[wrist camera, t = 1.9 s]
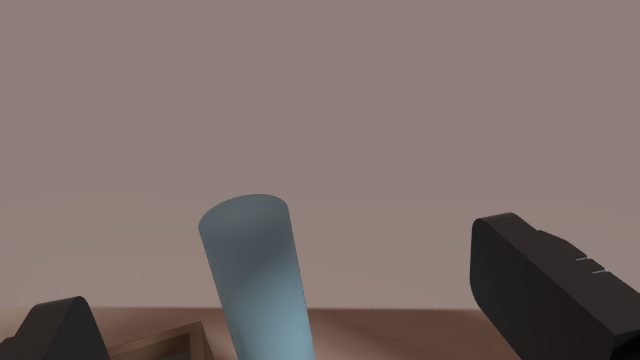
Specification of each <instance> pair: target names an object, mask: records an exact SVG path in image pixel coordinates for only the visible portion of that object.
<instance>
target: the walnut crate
mask: <svg viewBox="0 0 640 360" xmlns="http://www.w3.org/2000/svg"><path fill="white" fill-rule="evenodd" d="M189 349H191V360H214V357H213V354H212V351H211V349H210V346H209V343H208V340H207V337H206V334H205V331H204V328H203V325H202V322H201V321H199V322H195V323H192V324H189V325H186V326H182V327H179V328H176V329H172V330H169V331H166V332H162V333H159V334H156V335H152V336H149V337H146V338H142V339H139V340H136V341H132V342H129V343H126V344H122V345H119V346H116V347H112V348H109V349H107V351H108V354H109V357H110V360H157V359H161V358H164V357H167V356H170V355H173V354H177V353H180V352H183V351H186V350H189Z"/></svg>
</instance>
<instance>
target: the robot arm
mask: <svg viewBox="0 0 640 360" xmlns="http://www.w3.org/2000/svg"><path fill="white" fill-rule="evenodd" d="M470 285H471V290H472V293H473V296H474V298H475V300H476V302H477V304H478V306H479V307H480V308H481V310H482V311H483V312H484V313H485V315H486V316H487V317H488V318H489V320H490V321H491V322H492V323H493V325H494V326H495V327H496V328H497V329H498V331H499V332H500V333H501V334H502V336H503V337H504V338H505V339H506V341H507V342H508V343H509V344H510V346H511V347H512V348H513V349H514V351H515V352H516V353H517V354H518V356H519V357H520V358H521V359H522V360H640V293H638V292H637V291H635V290H634V289H633V288H631V287H630V286H628V285H627V284H626V283H624V282H623V281H622V280H620V279H619V278H617V277H616V276H615V275H613V274H612V273H611V272H606V271H605V269H604V268H603V267H602V266H601V265H599V264H598V263H597V262H595V261H594V260H593V259H588V258H587V255H585V254H584V253H583V252H582V251H580V250H579V249H577V248H576V247H575V246H573V245H572V244H570V243H569V242H568V241H566V240H564V239H561V238H559V237H556V236H554V235H551V234H549V233H547V232H544V231H541V230H538V231H537V230H536V229H534V228H533V227H532V226H530V225H529V224H528V223H527V222H525V221H524V220H523V219H521V218H520V217H519V216H517V215H516V214H514V213H510V212H509V213H504V214H499V215H495V216H489V217H484V218H479V219H476V220H475V221H474V223H473V226H472V240H471V260H470ZM0 360H110V357H109V354H108V351H107V349H106V346H105V344H104V342H103V339H102V337H101V334H100V332H99V329H98V327H97V324H96V322H95V319H94V317H93V315H92V312H91V310H90V307H89V305H88V303H87V301H86V300H85V299H84V298H83V297H81V296H77V297H72V298H67V299H63V300H57V301H51V302H46V303H41V304H37V305H35V306H34V307H33V308H32V309H31V310H30V312H29V314H28V315H27V317H26V318H25V320H24V321H23V323H22V325H21V326H20V328H19V329H18V331H17V333H16V334H15V336H14V337H10V338H6V339H5V340H4V341H3V342H1V343H0Z"/></svg>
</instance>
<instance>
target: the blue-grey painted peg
mask: <svg viewBox="0 0 640 360" xmlns="http://www.w3.org/2000/svg"><path fill="white" fill-rule="evenodd" d="M199 232H200V235H201V239H202V242H203V245H204V249H205V252H206V255H207V258H208V262H209V265H210V268H211V272H212V275H213V278H214V282H215V285H216V288H217V291H218V295H219V298H220V301H221V304H222V308H223V311H224V315H225V318H226V321H227V324H228V328H229V331H230V334H231V338H232V341H233V344H234V348H235V351H236V354H237V357H238V360H316V356H315V351H314V346H313V340H312V335H311V329H310V324H309V319H308V313H307V308H306V303H305V297H304V292H303V286H302V281H301V276H300V270H299V265H298V260H297V254H296V248H295V243H294V238H293V232H292V227H291V222H290V217H289V211H288V206H287V204H286V203H285V202H284V201H283V200H282V199H280V198H278V197H275V196H271V195H265V194H252V195H245V196H240V197H236V198H232V199H230V200H227V201H224V202H222V203H220V204H219V205H216V206H215V207H213V208H212V209H210V210H209V211H208V212H207V213H206V214H205V215H204V216H203V217H202V219H201V220H200V223H199Z"/></svg>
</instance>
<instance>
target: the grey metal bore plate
mask: <svg viewBox="0 0 640 360" xmlns="http://www.w3.org/2000/svg"><path fill="white" fill-rule="evenodd" d="M157 360H191V349H189V350H186V351H183V352H180V353H177V354H173V355H170V356H167V357H164V358H161V359H157Z"/></svg>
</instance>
